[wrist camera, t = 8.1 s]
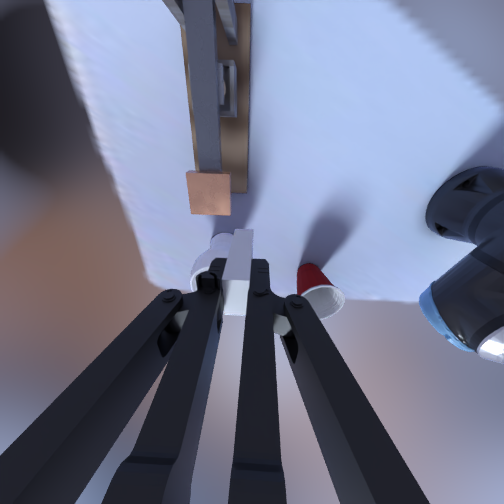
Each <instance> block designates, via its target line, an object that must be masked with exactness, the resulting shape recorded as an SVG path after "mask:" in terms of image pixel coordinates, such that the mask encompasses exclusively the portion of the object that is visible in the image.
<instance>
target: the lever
mask: <svg viewBox="0 0 504 504" xmlns="http://www.w3.org/2000/svg"><path fill="white" fill-rule="evenodd" d="M183 10H184V20H185V30H186V40H187V50H188V60H189V71H190V81H191V91H192V101H193V111H194V121H195V131H196V141H197V151H198V161H199V171H190V170H189V171H187V172H186V179H187V186H188V194H189V201H190V209H191V214H202V215H228V216H231V212H232V208H231V172H222V151H221V127H220V105H224V78H223V64H222V63H218V55H217V32H216V8H215V0H183Z"/></svg>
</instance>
